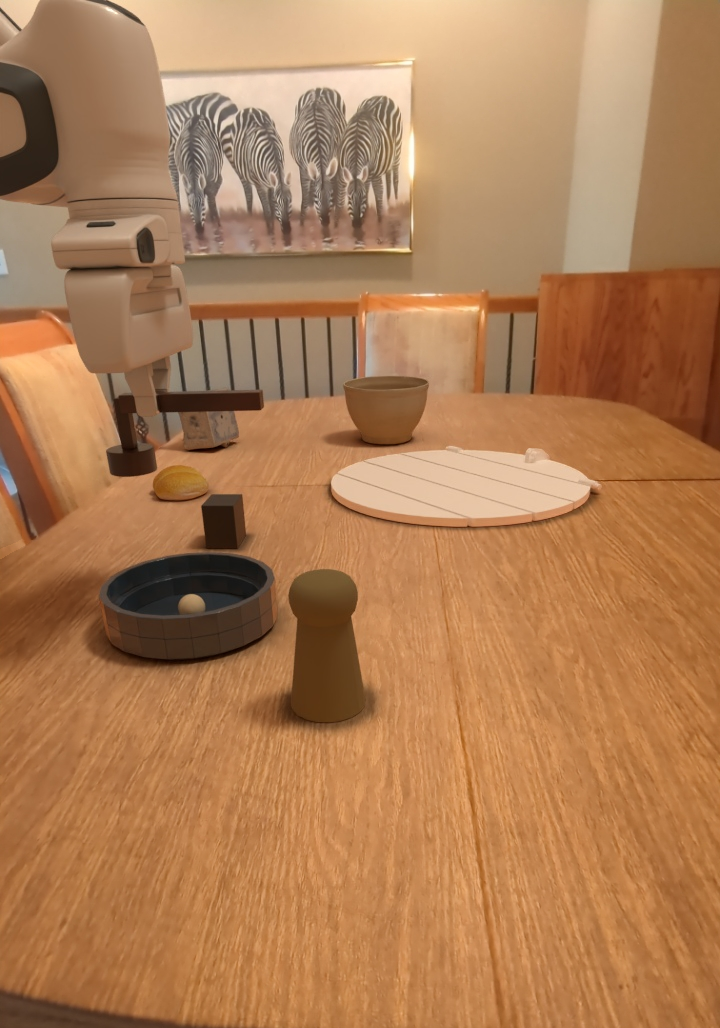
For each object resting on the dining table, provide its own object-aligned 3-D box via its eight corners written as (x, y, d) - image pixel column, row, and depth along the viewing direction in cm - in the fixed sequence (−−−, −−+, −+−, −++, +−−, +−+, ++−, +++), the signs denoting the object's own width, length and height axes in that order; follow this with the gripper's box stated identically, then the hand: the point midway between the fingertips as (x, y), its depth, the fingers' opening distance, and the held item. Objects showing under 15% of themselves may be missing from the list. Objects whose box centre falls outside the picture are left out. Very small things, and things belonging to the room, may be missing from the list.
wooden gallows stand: (103, 477, 70) (88, 398, 67) (119, 465, 74) (106, 390, 71) (263, 475, 69) (256, 394, 66) (272, 463, 73) (265, 387, 70)
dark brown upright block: (206, 548, 94) (200, 505, 91) (216, 535, 98) (211, 494, 96) (237, 548, 94) (233, 505, 91) (246, 535, 98) (242, 494, 95)
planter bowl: (328, 440, 147) (325, 382, 143) (387, 428, 157) (387, 373, 152) (385, 453, 137) (384, 391, 132) (445, 439, 146) (446, 380, 141)
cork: (276, 700, 61) (265, 574, 56) (334, 675, 65) (329, 554, 60) (321, 731, 57) (314, 598, 52) (381, 703, 60) (379, 575, 55)
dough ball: (176, 625, 73) (173, 600, 72) (184, 613, 75) (180, 589, 74) (202, 625, 73) (199, 600, 72) (209, 614, 75) (206, 590, 74)
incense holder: (204, 440, 151) (198, 385, 146) (241, 442, 148) (236, 387, 143) (177, 450, 143) (169, 393, 138) (215, 453, 140) (208, 395, 135)
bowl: (79, 662, 68) (69, 617, 66) (141, 590, 82) (135, 551, 80) (259, 666, 66) (254, 620, 64) (289, 591, 81) (286, 552, 79)
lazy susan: (466, 445, 141) (467, 426, 140) (648, 488, 113) (652, 466, 111) (283, 483, 120) (282, 461, 119) (449, 547, 92) (450, 520, 90)
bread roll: (159, 504, 111) (155, 478, 109) (151, 489, 119) (147, 464, 117) (214, 497, 114) (211, 471, 112) (204, 483, 121) (201, 458, 120)
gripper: (134, 246, 73) (156, 395, 79) (39, 242, 55) (77, 436, 61) (198, 243, 72) (215, 393, 78) (124, 239, 54) (154, 434, 60)
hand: (154, 412), depth 69 cm, fingers closed on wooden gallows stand, 2 cm apart
